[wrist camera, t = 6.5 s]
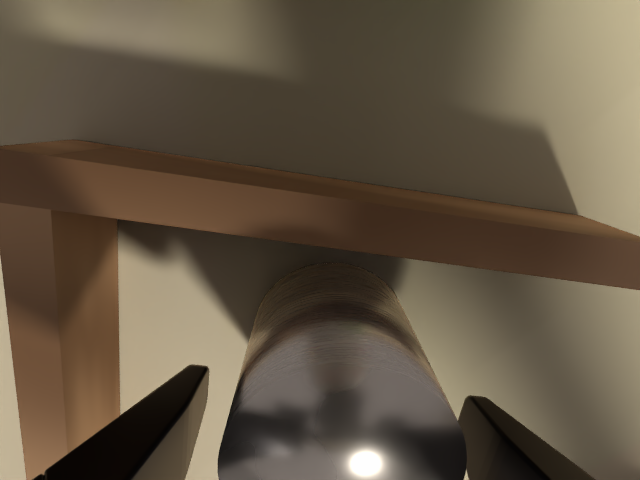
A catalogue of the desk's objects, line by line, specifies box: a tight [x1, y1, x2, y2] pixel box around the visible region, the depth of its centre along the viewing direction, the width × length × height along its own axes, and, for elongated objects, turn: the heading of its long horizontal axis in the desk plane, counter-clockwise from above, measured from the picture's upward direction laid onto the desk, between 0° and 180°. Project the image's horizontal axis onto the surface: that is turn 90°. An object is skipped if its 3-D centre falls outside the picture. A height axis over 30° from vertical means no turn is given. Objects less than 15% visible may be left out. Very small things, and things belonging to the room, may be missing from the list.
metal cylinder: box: [218, 262, 467, 480], centre depth 9 cm, size 4×4×4 cm
